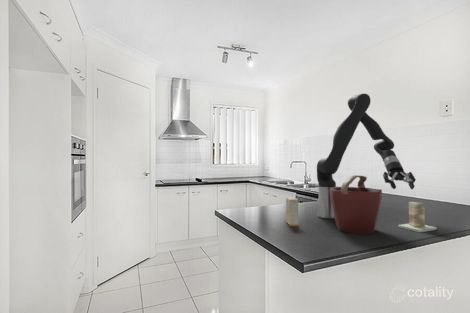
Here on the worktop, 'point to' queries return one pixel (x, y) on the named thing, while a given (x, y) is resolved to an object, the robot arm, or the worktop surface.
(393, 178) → the robot arm
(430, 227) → the sage board
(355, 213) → the bucket
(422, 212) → the maple block
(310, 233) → the worktop surface
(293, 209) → the supplement box
